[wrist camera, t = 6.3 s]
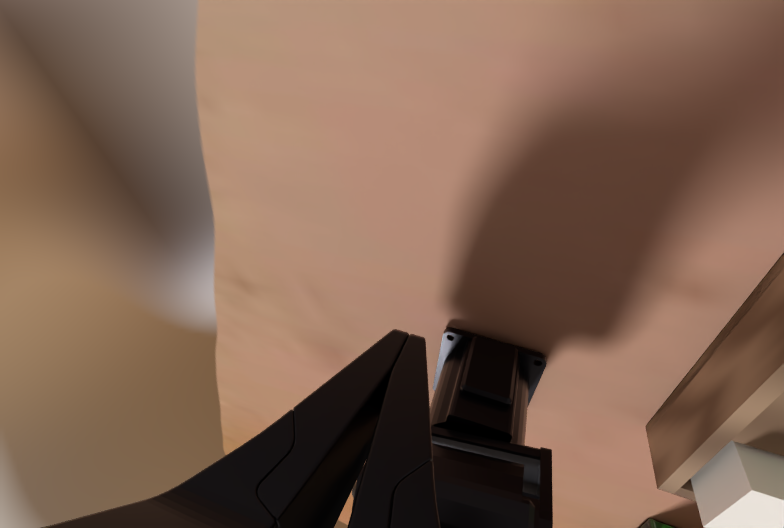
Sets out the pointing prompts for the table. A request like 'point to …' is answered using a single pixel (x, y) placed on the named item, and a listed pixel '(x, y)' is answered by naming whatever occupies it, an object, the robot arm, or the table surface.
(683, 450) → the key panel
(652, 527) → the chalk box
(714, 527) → the white rectangular block
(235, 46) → the table surface
